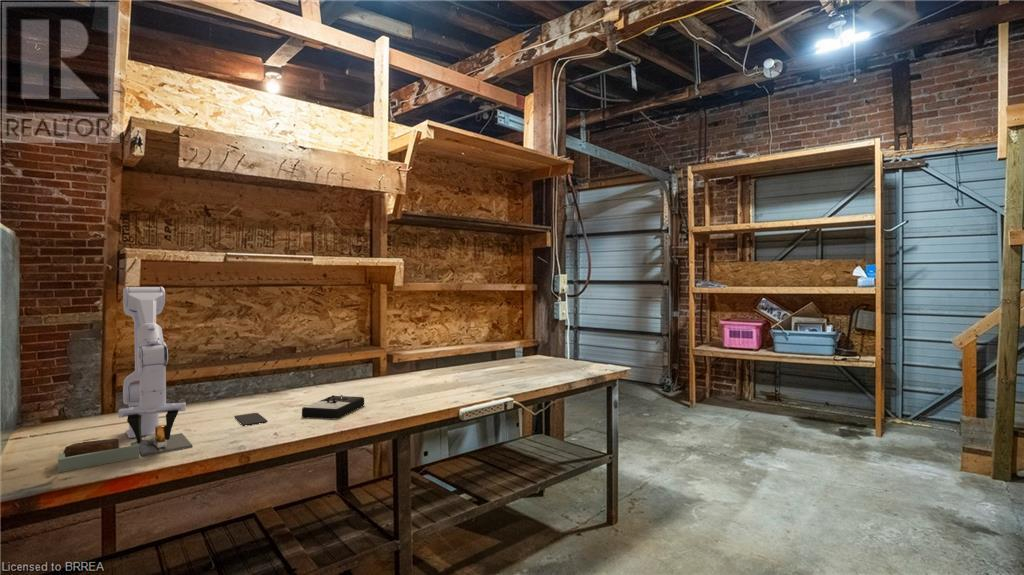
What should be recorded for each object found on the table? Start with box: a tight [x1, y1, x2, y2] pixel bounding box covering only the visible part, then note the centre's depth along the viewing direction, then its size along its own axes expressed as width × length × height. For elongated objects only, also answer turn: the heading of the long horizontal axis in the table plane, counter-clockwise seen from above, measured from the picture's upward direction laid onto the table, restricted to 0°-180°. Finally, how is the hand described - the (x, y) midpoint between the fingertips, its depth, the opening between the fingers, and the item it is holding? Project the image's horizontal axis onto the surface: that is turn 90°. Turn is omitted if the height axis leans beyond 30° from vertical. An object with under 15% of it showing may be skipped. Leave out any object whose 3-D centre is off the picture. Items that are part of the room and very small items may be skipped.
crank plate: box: [138, 432, 193, 457], centre depth 139 cm, size 15×11×1 cm
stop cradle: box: [57, 440, 140, 473], centre depth 126 cm, size 6×16×3 cm, turn 133°
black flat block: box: [301, 394, 365, 419], centre depth 176 cm, size 13×19×5 cm
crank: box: [146, 424, 167, 448], centre depth 138 cm, size 10×4×5 cm, turn 46°
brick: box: [62, 438, 120, 457], centre depth 127 cm, size 11×4×5 cm, turn 111°
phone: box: [234, 412, 268, 427], centre depth 165 cm, size 7×1×15 cm
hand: (153, 440), depth 134 cm, fingers open, 5 cm apart
